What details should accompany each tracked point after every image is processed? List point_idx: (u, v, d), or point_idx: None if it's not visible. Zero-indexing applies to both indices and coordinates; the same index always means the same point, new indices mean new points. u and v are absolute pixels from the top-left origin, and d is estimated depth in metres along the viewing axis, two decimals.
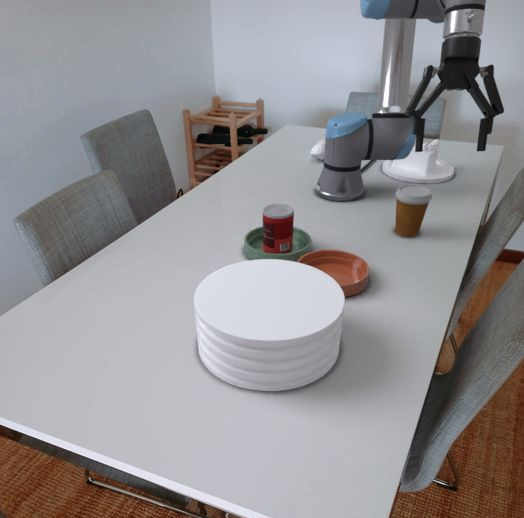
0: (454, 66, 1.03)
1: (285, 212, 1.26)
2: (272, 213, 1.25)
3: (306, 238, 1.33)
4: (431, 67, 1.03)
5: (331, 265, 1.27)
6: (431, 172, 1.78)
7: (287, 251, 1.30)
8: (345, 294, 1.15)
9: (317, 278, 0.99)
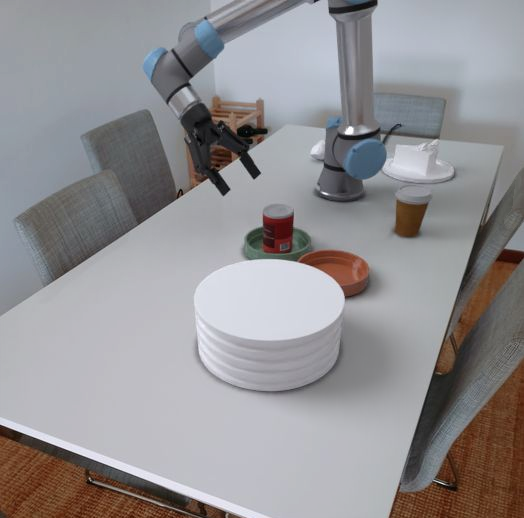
0: None
1: (285, 212, 1.26)
2: (272, 213, 1.25)
3: (306, 238, 1.33)
4: None
5: (331, 265, 1.27)
6: (431, 172, 1.78)
7: (287, 251, 1.30)
8: (345, 294, 1.15)
9: (317, 278, 0.99)
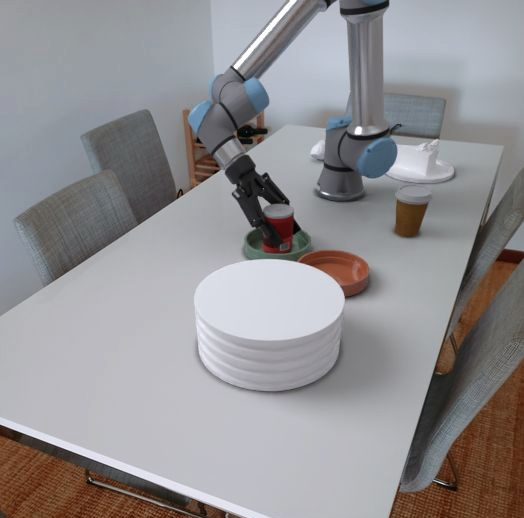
0: None
1: (285, 212, 1.26)
2: (272, 213, 1.25)
3: (306, 238, 1.33)
4: None
5: (331, 265, 1.27)
6: (431, 172, 1.78)
7: (287, 251, 1.30)
8: (345, 294, 1.15)
9: (317, 278, 0.99)
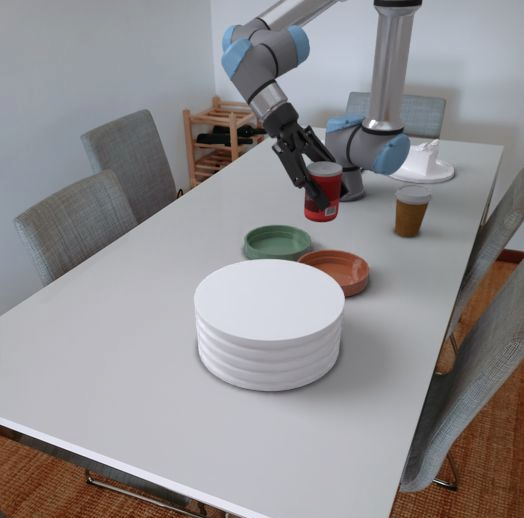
0: None
1: (332, 170, 1.08)
2: (318, 171, 1.08)
3: (306, 238, 1.33)
4: None
5: (331, 265, 1.27)
6: (431, 172, 1.78)
7: (333, 217, 1.13)
8: (345, 294, 1.15)
9: (317, 278, 0.99)
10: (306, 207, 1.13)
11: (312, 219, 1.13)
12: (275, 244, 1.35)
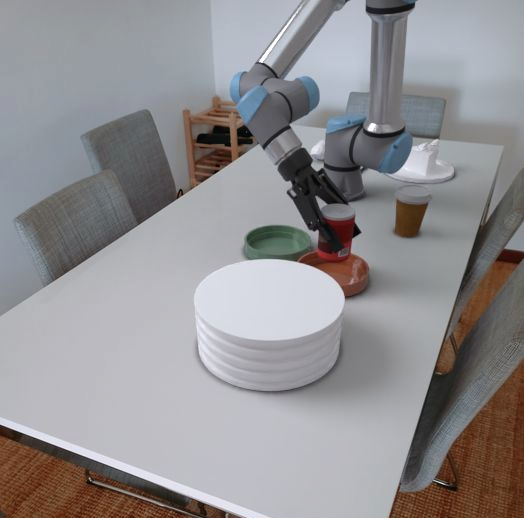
0: None
1: (346, 213, 1.11)
2: (331, 214, 1.10)
3: (306, 238, 1.33)
4: None
5: (331, 265, 1.27)
6: (431, 172, 1.78)
7: (346, 257, 1.15)
8: (345, 294, 1.15)
9: (317, 278, 0.99)
10: (319, 248, 1.15)
11: (325, 260, 1.15)
12: (275, 244, 1.35)
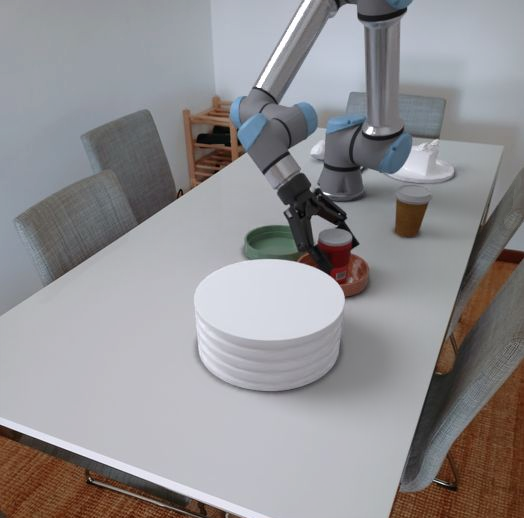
0: None
1: (343, 238, 1.14)
2: (329, 239, 1.14)
3: None
4: None
5: None
6: (431, 172, 1.78)
7: (343, 280, 1.19)
8: (345, 294, 1.15)
9: (317, 278, 0.99)
10: None
11: None
12: (275, 244, 1.35)
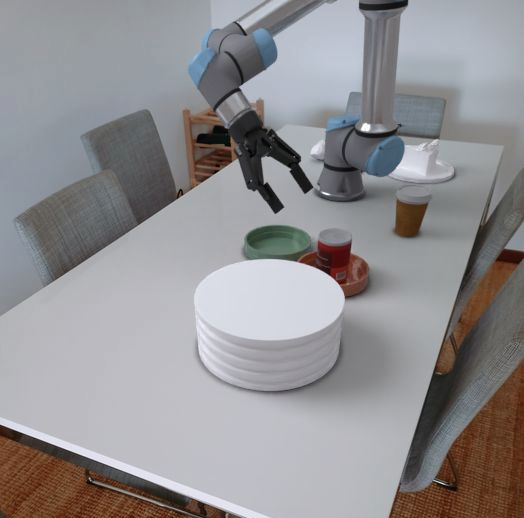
0: None
1: (343, 238, 1.14)
2: (329, 239, 1.14)
3: (306, 238, 1.33)
4: None
5: None
6: (431, 172, 1.78)
7: (343, 280, 1.19)
8: (345, 294, 1.15)
9: (317, 278, 0.99)
10: None
11: None
12: (275, 244, 1.35)
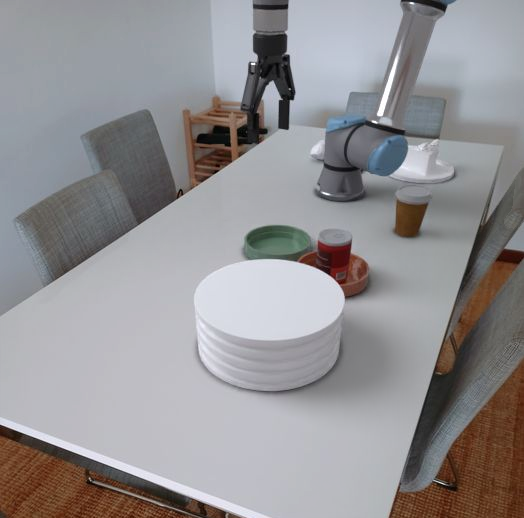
0: None
1: (343, 238, 1.14)
2: (329, 239, 1.14)
3: (306, 238, 1.33)
4: None
5: None
6: (431, 172, 1.78)
7: (343, 280, 1.19)
8: (345, 294, 1.15)
9: (317, 278, 0.99)
10: None
11: None
12: (275, 244, 1.35)
